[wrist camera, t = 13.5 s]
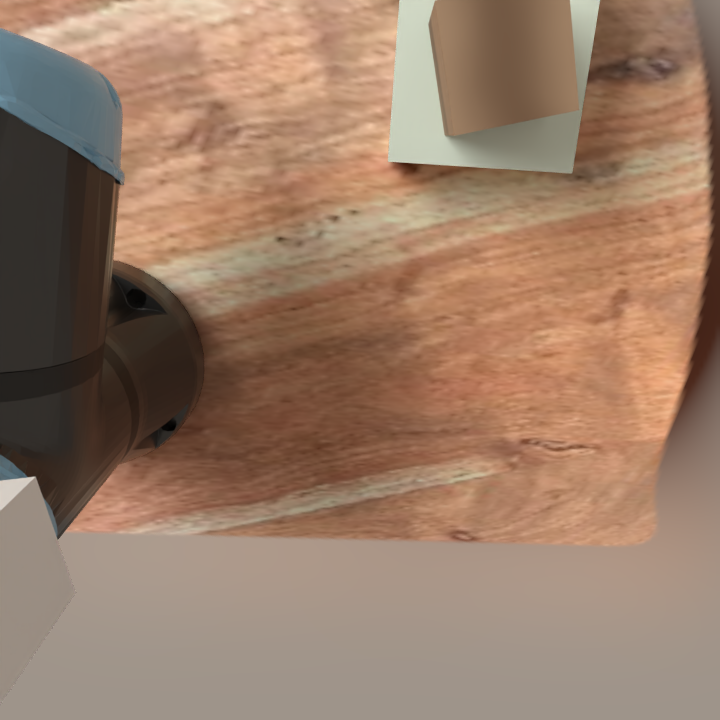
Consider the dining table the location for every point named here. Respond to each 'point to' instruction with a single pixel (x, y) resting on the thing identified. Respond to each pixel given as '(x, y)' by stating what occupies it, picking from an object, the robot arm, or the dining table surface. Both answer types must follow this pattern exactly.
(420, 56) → the pedestal block
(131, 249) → the dining table surface
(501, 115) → the walnut block
